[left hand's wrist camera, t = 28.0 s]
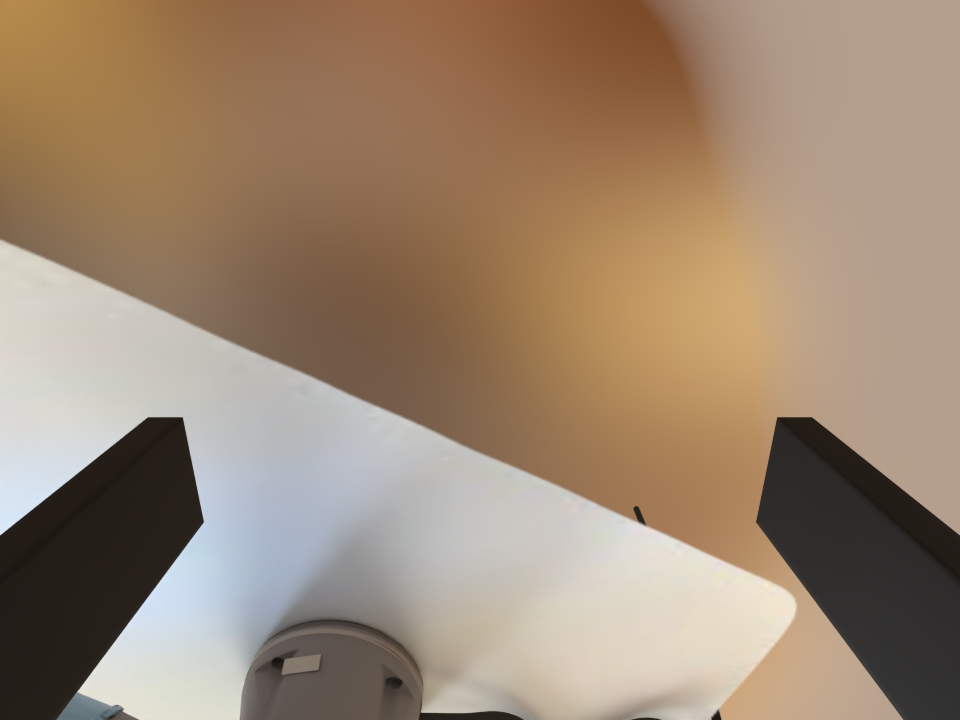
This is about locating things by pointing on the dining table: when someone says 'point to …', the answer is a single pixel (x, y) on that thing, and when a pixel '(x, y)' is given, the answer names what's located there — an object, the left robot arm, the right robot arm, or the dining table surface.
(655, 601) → the dining table surface
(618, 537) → the dining table surface
